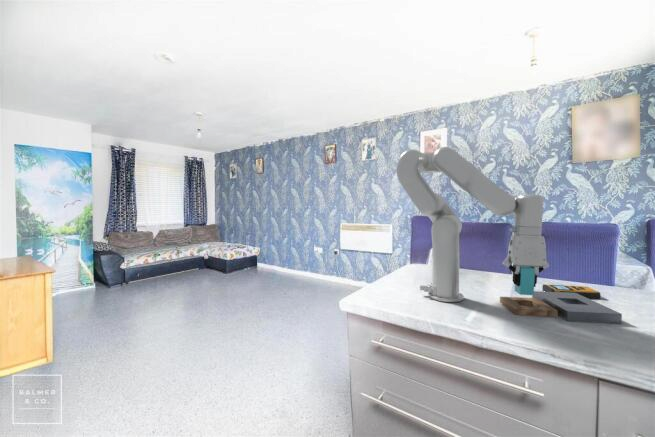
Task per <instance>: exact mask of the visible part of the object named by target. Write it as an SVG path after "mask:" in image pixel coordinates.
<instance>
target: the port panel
mask: <svg viewBox="0 0 655 437" xmlns="http://www.w3.org/2000/svg"><path fill="white" fill-rule="evenodd" d="M531 296H532V297H531V298H537V299H539V300H541V301H542V302H544V303H546V304H547V305H549V306H551V307H552V308H554V309H556V310H557V311H558V316H557V317H560V318H561V319H563V320H565V321H567V322H577V323H578V322H580V323H596V324H614V325H616V324H617V325H622V322H623V320H622V319H623V313H621V312H618V311H616V310H614V309H612V308H609V307H607V306H605V305H603V304H601V303H599V302H596V301H595V300H593V299H590V298H586V297H584V296H582V295H579V294H577V293H568V292H544V291H539V290H538V291H535V290H534V295H531Z"/></svg>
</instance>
